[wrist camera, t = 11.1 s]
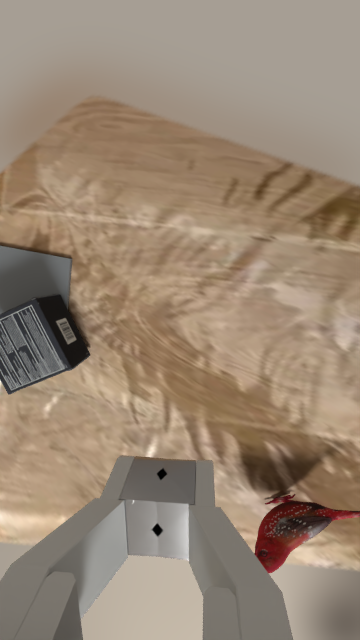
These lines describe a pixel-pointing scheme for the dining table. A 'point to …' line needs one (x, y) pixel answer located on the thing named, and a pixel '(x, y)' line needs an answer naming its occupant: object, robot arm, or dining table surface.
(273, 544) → the decorative bird figurine
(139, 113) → the dining table surface
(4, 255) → the slate tile
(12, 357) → the small box
